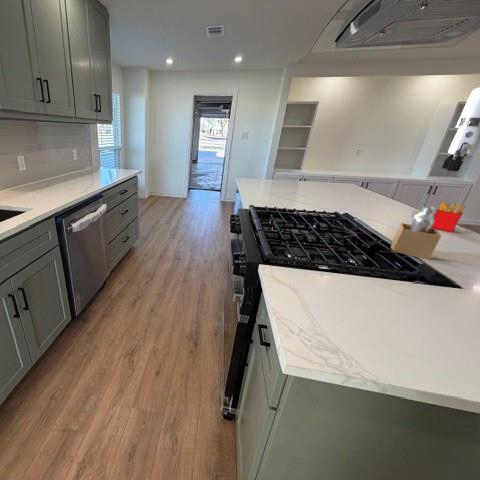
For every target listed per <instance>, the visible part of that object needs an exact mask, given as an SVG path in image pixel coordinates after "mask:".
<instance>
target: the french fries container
mask: <svg viewBox="0 0 480 480" xmlns="http://www.w3.org/2000/svg"><path fill="white" fill-rule="evenodd" d="M450 205H451V204H450V202H449V203H448V202H442V203H440V207H439V208H438V209H436V210H435V212H434V215H433V217H434V224H433V225H432V227H431V228H433V229H437V230H439V231H443V232H449V233H453V232H454V230H455V228H456V227H457V225H458V223H459V221H460V219H461V218H462V215H463V214H464V213H463V211H464V210H465V208H466V205H462V206H461V205H460V204H456V203H453V204H452V206H451V207H449V206H450ZM460 206H461V207H460ZM459 208H460V209H459ZM458 210H459V211H458Z"/></svg>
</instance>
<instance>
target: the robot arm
mask: <svg viewBox="0 0 480 480" xmlns="http://www.w3.org/2000/svg"><path fill="white" fill-rule="evenodd" d="M454 128H455V129H457V131H456V132H455V135H454V137H453V139H452V141H451V143H450V146H449V147H448V150H447V153H448V154H447V155H446V157H445V159H444V161H443V163H442V165H441V169H444V170H446V171H448V172H459V171H460V169H461V167H462V165H463V163H464V161H465V157H466V156H470V155H471V154H472V152H473V150H474V147H475V145H476V143H477V141H478V138H479V136H480V86H479V87H476V88H474V89H472V91H471V93H470V94H469V96H468V98H467V100H466V103H465V105H464V107H463V110H462V112H461V114H460V116H459V118H458V120H457V123H456V125H455V127H454Z"/></svg>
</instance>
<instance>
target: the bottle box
mask: <svg viewBox="0 0 480 480" xmlns="http://www.w3.org/2000/svg"><path fill="white" fill-rule="evenodd" d="M410 227H411V224H409V223H404V222H400V224H399V226H398V229H397V230H396V233H395V235H394V237H393V240H392V242H391V245H390V246H391V247H390V249H391V251H392V252H394V253H398V254H403V255H407V256H410V257H411V256H412V257H414V258H415V257H416V258H419V259H425V260H430V259H431V257H432V255H433V253H434V251H435V250H436V247H437V245H438V243H439V241H440V239H441V238H442V235H441V233H440V232H439V231H438V229H435V228H430V229H429V231H428V233H424V232H418V231H413V230H410Z"/></svg>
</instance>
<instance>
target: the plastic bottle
mask: <svg viewBox="0 0 480 480" xmlns="http://www.w3.org/2000/svg"><path fill="white" fill-rule="evenodd" d="M436 210H437V209H436V208H435V207H433V206H422V209H421V210H420V212H419V213H418V214H417V213H416V215H415V216H413V217H412V221H411V224H410V225H411V227H410V230H413V231H418V232H424V233H428V231H429V229H430V228H431V227H432V225H433V224H434V215H433V214H435V212H436Z"/></svg>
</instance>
